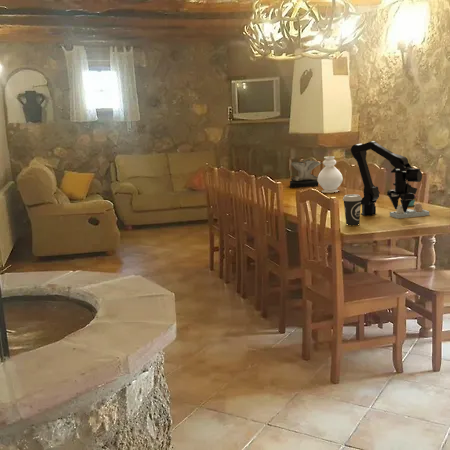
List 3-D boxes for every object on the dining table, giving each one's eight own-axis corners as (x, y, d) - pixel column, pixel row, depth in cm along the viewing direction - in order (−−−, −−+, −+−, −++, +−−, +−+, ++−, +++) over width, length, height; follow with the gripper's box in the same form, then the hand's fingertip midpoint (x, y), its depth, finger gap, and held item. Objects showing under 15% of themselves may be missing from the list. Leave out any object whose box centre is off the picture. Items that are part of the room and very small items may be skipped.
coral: (321, 184, 427) (320, 157, 423) (322, 187, 408) (322, 159, 403) (289, 185, 431) (288, 158, 426) (289, 189, 411) (288, 161, 407)
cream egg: (406, 216, 280) (406, 205, 278) (398, 217, 279) (398, 205, 278) (402, 215, 284) (402, 203, 283) (394, 216, 283) (394, 204, 282)
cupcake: (406, 207, 308) (407, 186, 305) (398, 205, 316) (398, 185, 314) (419, 205, 310) (420, 185, 308) (411, 203, 318) (411, 183, 316)
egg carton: (397, 219, 277) (397, 213, 276) (389, 216, 285) (389, 210, 284) (429, 216, 280) (429, 209, 279) (421, 213, 288) (421, 207, 287)
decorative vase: (312, 191, 390) (311, 157, 385) (333, 188, 397) (332, 155, 392) (327, 194, 374) (326, 158, 369) (348, 191, 381) (347, 156, 376)
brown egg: (416, 215, 280) (416, 204, 279) (411, 214, 285) (411, 202, 284) (424, 214, 281) (424, 203, 280) (419, 213, 286) (419, 202, 284)
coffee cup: (359, 222, 277) (359, 193, 274) (364, 225, 267) (364, 196, 264) (341, 223, 276) (340, 194, 273) (345, 227, 267) (345, 197, 264)
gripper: (424, 181, 270) (424, 212, 273) (405, 178, 288) (405, 206, 291) (404, 183, 268) (404, 214, 271) (386, 179, 286) (386, 208, 289)
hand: (400, 210), depth 281 cm, fingers open, 9 cm apart
